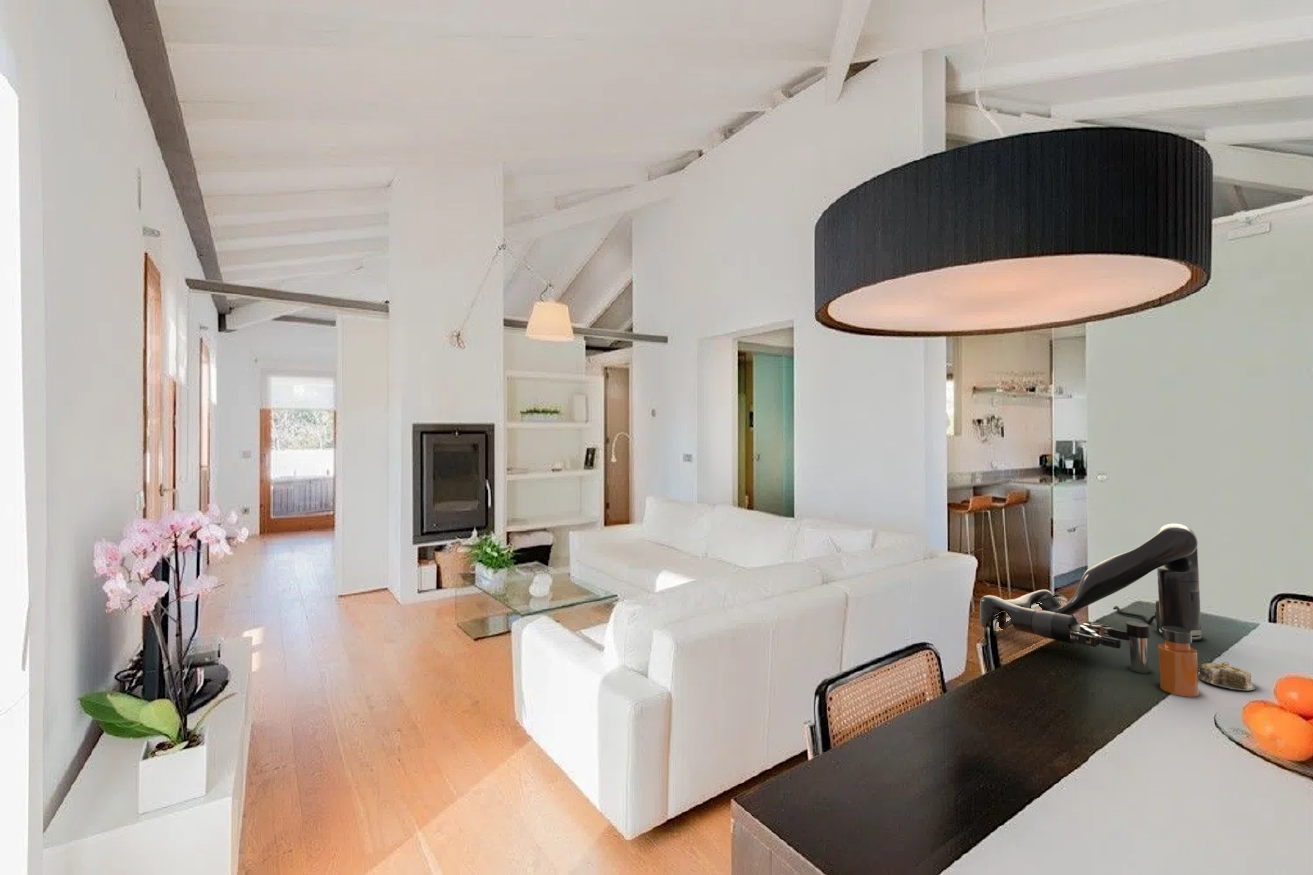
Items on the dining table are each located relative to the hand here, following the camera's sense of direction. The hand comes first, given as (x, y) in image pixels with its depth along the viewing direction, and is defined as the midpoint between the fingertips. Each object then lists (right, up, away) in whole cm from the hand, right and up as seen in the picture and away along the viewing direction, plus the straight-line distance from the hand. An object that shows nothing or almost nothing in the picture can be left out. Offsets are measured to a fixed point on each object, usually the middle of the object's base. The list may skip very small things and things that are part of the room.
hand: (1125, 640), depth 151 cm
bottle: (+1, -7, -14) cm, 16 cm away
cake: (+15, -7, -11) cm, 20 cm away
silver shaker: (+2, -7, -2) cm, 8 cm away
